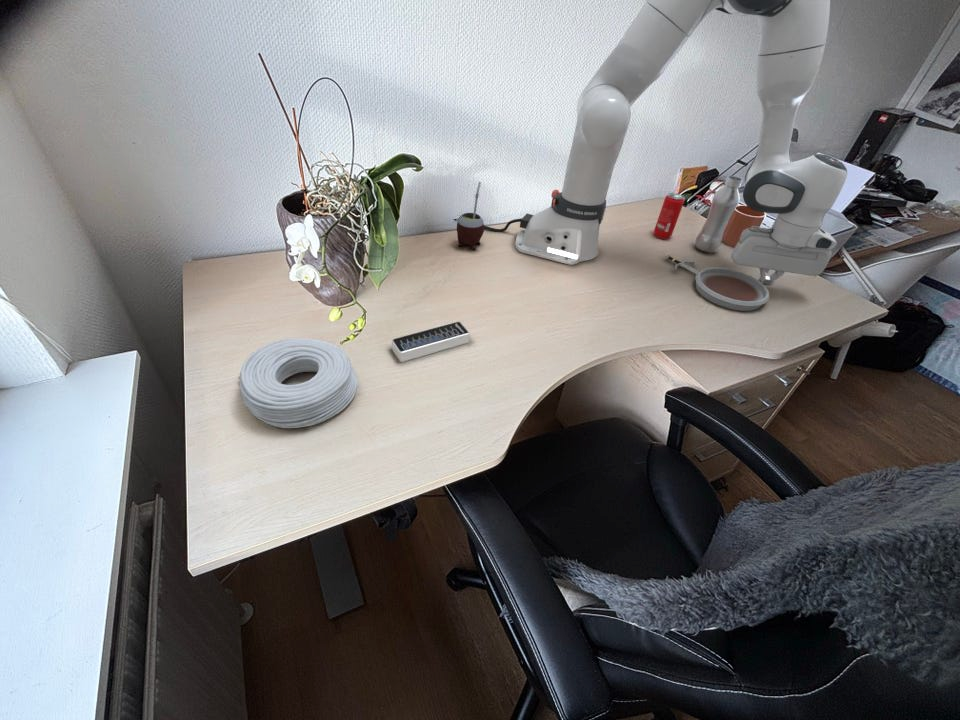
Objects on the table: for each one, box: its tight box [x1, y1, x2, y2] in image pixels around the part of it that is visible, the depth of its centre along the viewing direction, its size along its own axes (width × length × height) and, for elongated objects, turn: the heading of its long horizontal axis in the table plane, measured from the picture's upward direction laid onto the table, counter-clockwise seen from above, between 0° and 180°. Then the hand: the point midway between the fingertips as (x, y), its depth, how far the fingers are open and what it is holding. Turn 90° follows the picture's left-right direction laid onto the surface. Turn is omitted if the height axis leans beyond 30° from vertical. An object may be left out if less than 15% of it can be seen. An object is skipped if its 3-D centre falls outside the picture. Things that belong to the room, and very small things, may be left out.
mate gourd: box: [456, 181, 485, 252], centre depth 116 cm, size 8×8×15 cm
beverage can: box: [653, 192, 686, 240], centre depth 131 cm, size 5×5×12 cm
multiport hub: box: [391, 321, 470, 363], centre depth 87 cm, size 4×14×2 cm, turn 120°
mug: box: [721, 204, 767, 248], centre depth 133 cm, size 12×9×10 cm
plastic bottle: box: [695, 175, 743, 253], centre depth 124 cm, size 6×7×20 cm
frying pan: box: [664, 253, 770, 312], centre depth 115 cm, size 17×3×28 cm
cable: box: [238, 337, 358, 429], centre depth 74 cm, size 18×18×6 cm
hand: (764, 284), depth 114 cm, fingers closed
